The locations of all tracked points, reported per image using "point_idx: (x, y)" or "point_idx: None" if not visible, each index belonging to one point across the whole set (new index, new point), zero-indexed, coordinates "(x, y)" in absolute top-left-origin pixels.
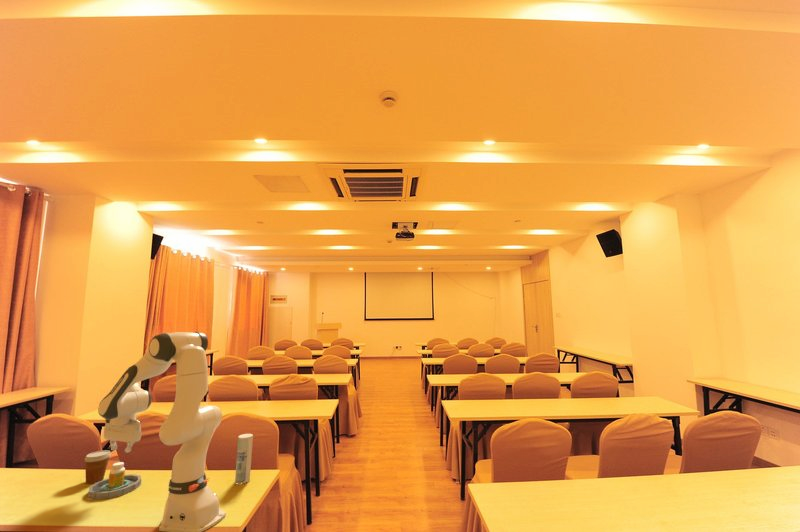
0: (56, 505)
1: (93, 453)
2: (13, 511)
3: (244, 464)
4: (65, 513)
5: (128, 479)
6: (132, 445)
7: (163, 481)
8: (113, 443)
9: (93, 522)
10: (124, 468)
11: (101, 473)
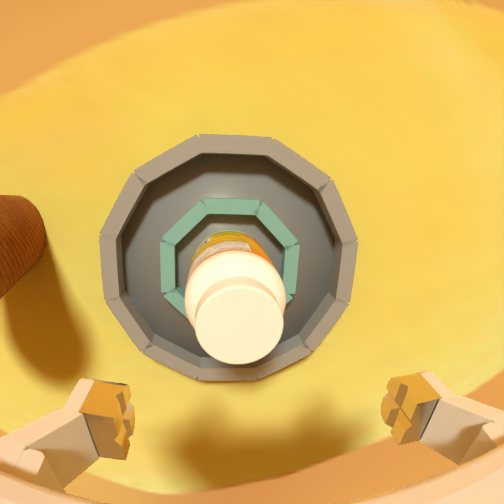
0: (152, 426)
1: None
2: None
3: None
4: (261, 442)
5: (193, 164)
6: (479, 403)
7: (396, 114)
8: (65, 459)
9: None
10: (272, 273)
11: (26, 238)
